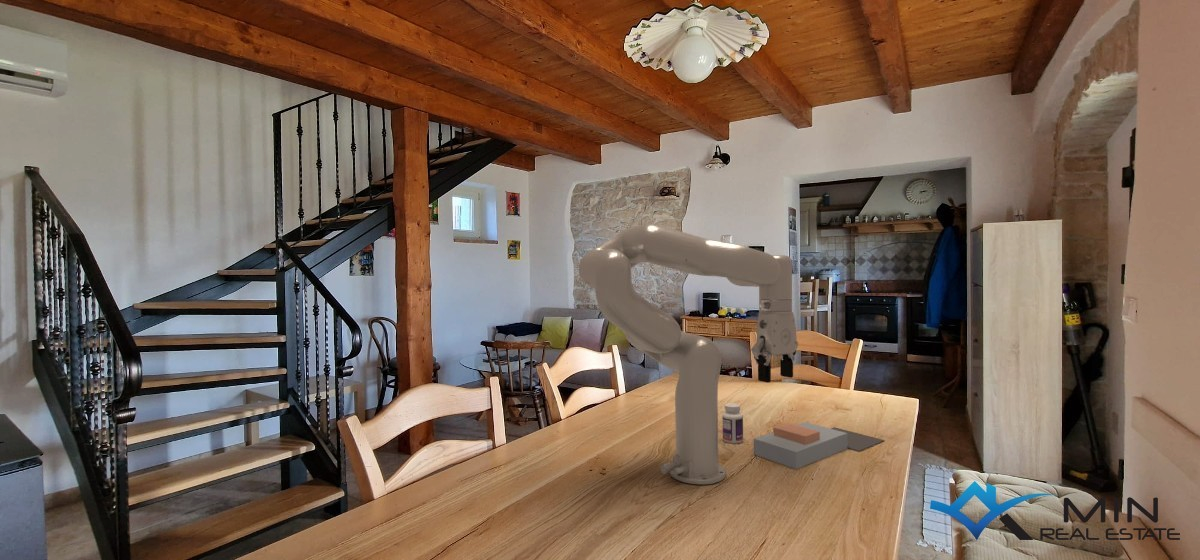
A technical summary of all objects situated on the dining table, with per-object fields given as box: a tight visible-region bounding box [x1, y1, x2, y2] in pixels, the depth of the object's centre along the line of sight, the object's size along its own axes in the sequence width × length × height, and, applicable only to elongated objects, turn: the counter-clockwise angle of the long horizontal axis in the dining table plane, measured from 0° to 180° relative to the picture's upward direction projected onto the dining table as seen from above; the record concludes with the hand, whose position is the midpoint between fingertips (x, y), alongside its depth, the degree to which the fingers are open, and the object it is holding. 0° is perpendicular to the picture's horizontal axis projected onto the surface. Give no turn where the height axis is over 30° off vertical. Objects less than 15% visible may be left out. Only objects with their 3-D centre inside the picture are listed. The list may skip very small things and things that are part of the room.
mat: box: [830, 426, 886, 453], centre depth 139 cm, size 13×14×1 cm
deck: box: [753, 421, 848, 470], centre depth 130 cm, size 22×12×4 cm, turn 125°
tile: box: [773, 422, 820, 445], centre depth 129 cm, size 6×9×2 cm, turn 35°
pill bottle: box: [721, 402, 744, 444], centre depth 139 cm, size 5×5×10 cm
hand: (775, 378), depth 124 cm, fingers open, 8 cm apart
